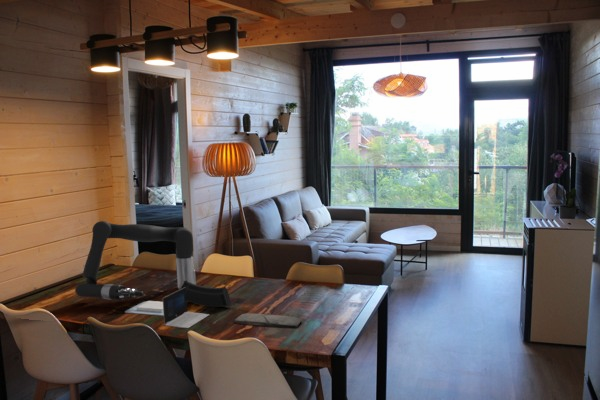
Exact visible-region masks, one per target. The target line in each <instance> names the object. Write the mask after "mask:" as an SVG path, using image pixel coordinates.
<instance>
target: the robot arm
mask: <svg viewBox="0 0 600 400" xmlns="http://www.w3.org/2000/svg"><path fill="white" fill-rule="evenodd" d="M91 232H92V238H91V245H90V249H89V251H88V254H87V258H86V261H85V264H84V268H83V272H82V277H83V278H85V282H80V283H78V284H76V286H75V288H74V292H75V294H76V295H77V297H80V298H96V299H105V300H111V301H112V300H114V301H122V300H126V299H132V298H136V297H138V298H139V297H144V295H145V293H144V291H139V288H137V287H135V286H133V287H132V288H129V287H126V288H125V286H124V285H123V284H106V283H105V284H104V283H103V284H102V283H98V273H99V270H100V267H101V262H102V256H103V251H104V249H105V245H106V242H107V240H108V239H121V240H122V239H123V240H126V241H133V242H139V243H153V242H154V243H155V242H161V241H163V242H164V241H166V242H174V243H175V261H176V263H175V264H176V278H177V280H176V281H177V289H178V290H180V289H181V287H182V285H183V283H184V281H186V280H187V281H188V282H190V283H192V284H195V285H197V283H196V282H197V280H196V279H197V278H196V270H195V266H194V264H195V263H194V236H193V233H192V231H190V229H188V227H183V226H180V227H166V226H165V227H164V226H157V225H150V224H141V223H137V224H136V223H134V224H133V223H132V224H130V223H129V224H117V223H111V222H107V221H106V220H105V221H104V220H99V221H96V222H95V223H94V224H93V227H92V231H91Z"/></svg>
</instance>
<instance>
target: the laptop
mask: <svg viewBox="0 0 600 400" xmlns="http://www.w3.org/2000/svg"><path fill="white" fill-rule="evenodd" d="M162 302H163V313H164V316H163V324H164V326H166V327H175V328H179V329H181V328H182V329H189V328H190V327H192V326H194V325H196V324H197V323H199V322H200V321H202V320H204V319H205V318H207V317H208V316H210V314H209V313H201V312H192V311H188V301H187V295H186V287H184V288H182V289H178V290H176V291H174V292H172V293H170V294H168V295H165V296H164V297H162Z"/></svg>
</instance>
